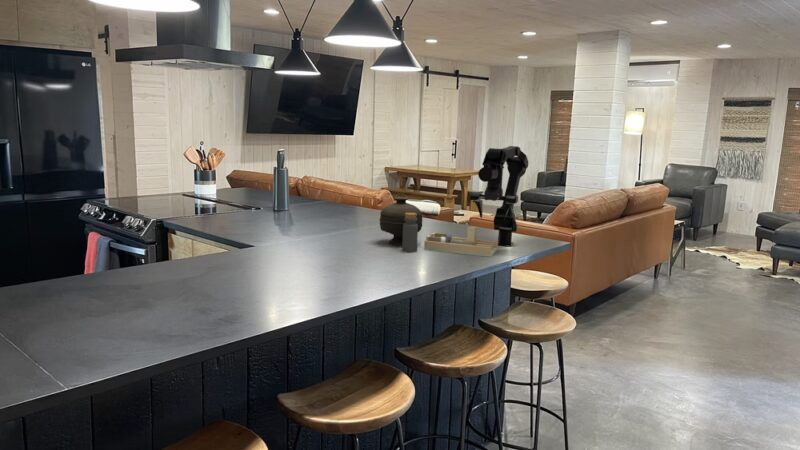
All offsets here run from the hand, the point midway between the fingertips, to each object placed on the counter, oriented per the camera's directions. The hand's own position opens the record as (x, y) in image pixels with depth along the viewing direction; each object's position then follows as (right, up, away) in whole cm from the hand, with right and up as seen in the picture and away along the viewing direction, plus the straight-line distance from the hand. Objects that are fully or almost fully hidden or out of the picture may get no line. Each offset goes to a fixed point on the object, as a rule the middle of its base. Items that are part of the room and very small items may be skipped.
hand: (492, 218), depth 234 cm
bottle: (-34, -13, -4) cm, 36 cm away
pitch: (-12, -13, +1) cm, 18 cm away
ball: (-20, -9, +3) cm, 22 cm away
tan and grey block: (-13, -11, +1) cm, 17 cm away
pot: (-37, -11, +9) cm, 40 cm away
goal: (-22, -11, +5) cm, 25 cm away
